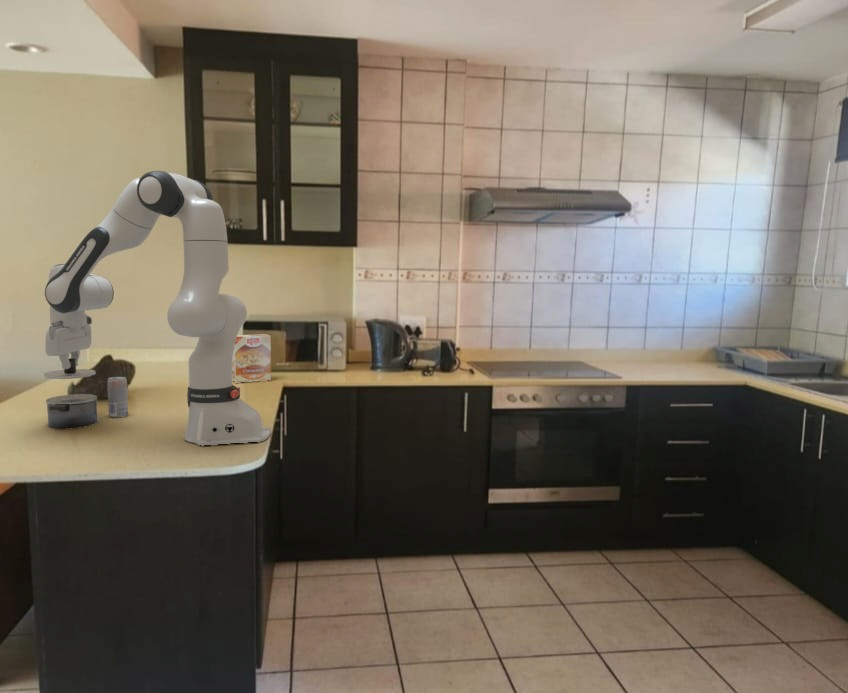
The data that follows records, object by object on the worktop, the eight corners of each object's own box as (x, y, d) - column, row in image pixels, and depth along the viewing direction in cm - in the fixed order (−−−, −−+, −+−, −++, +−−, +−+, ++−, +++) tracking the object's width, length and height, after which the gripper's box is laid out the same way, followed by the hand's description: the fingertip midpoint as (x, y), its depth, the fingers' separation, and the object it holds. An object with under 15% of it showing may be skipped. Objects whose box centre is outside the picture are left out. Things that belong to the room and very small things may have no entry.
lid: (103, 371, 186) (102, 356, 186) (83, 379, 173) (82, 362, 173) (58, 371, 185) (57, 355, 185) (34, 378, 172) (33, 361, 172)
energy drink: (123, 413, 196) (121, 376, 194) (131, 415, 192) (129, 378, 191) (106, 416, 191) (104, 378, 190) (113, 418, 188) (112, 380, 187)
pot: (108, 416, 190) (107, 392, 190) (82, 431, 173) (81, 404, 172) (64, 417, 189) (63, 392, 188) (33, 431, 172) (32, 404, 171)
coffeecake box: (235, 384, 251) (234, 336, 249) (231, 381, 257) (230, 334, 255) (271, 381, 259) (271, 335, 256) (266, 378, 265) (266, 333, 262)
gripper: (61, 323, 168) (64, 373, 169) (94, 318, 188) (96, 362, 189) (37, 322, 167) (40, 373, 169) (73, 317, 187) (75, 362, 189)
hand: (70, 367), depth 179 cm, fingers closed on lid, 3 cm apart
